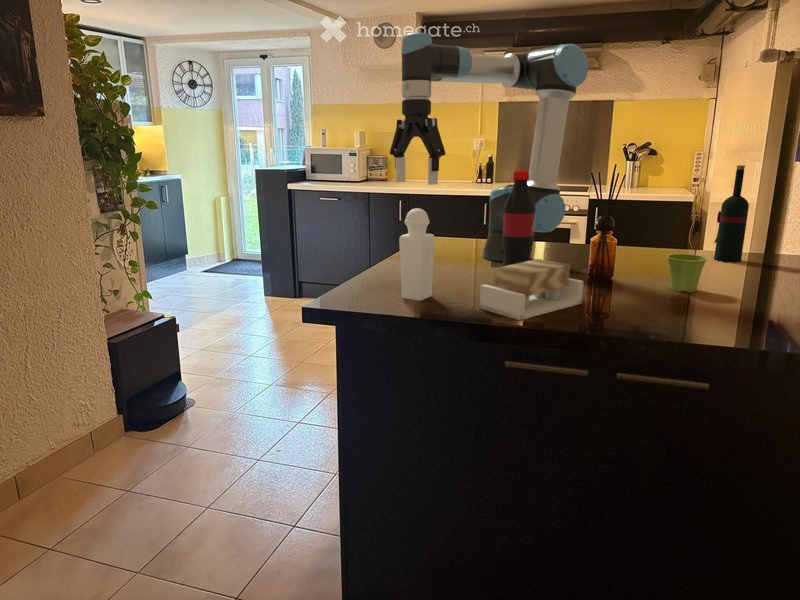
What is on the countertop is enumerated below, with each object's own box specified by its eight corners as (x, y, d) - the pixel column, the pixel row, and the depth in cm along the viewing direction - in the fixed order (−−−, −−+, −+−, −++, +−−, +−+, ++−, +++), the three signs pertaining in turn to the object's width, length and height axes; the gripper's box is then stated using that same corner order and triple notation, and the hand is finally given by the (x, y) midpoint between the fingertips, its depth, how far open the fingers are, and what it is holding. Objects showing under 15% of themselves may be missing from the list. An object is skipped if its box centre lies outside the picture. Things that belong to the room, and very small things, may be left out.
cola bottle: (533, 279, 164) (539, 170, 156) (529, 286, 156) (536, 171, 148) (503, 277, 166) (507, 169, 158) (498, 284, 158) (502, 171, 151)
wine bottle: (724, 256, 196) (737, 164, 188) (747, 262, 186) (761, 165, 178) (703, 257, 194) (715, 164, 186) (725, 263, 184) (739, 166, 177)
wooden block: (527, 296, 128) (528, 274, 126) (495, 289, 134) (495, 268, 133) (568, 285, 138) (569, 264, 136) (536, 278, 144) (537, 258, 143)
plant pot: (686, 296, 145) (691, 261, 143) (655, 288, 153) (658, 255, 151) (711, 291, 150) (715, 258, 147) (679, 284, 158) (683, 252, 155)
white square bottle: (421, 301, 141) (422, 210, 135) (398, 298, 144) (398, 208, 139) (434, 296, 146) (435, 207, 141) (412, 292, 150) (412, 206, 144)
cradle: (541, 293, 148) (542, 272, 147) (581, 303, 139) (583, 281, 137) (479, 308, 135) (480, 285, 134) (519, 320, 126) (520, 295, 125)
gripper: (376, 101, 157) (377, 181, 163) (437, 95, 138) (436, 186, 144) (398, 102, 162) (398, 180, 167) (460, 96, 143) (458, 184, 148)
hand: (416, 183), depth 156 cm, fingers open, 13 cm apart
